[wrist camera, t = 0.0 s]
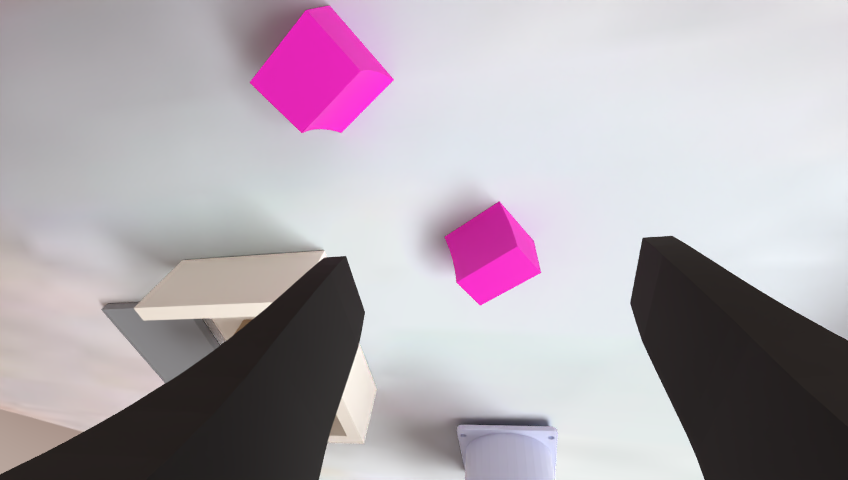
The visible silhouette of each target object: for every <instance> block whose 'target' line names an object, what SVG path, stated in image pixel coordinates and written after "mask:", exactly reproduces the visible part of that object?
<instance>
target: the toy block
mask: <svg viewBox="0 0 848 480" xmlns="http://www.w3.org/2000/svg"><path fill="white" fill-rule="evenodd" d="M393 80H394V79H393V78H392V77H391V76H390V75H389V74H388V72H387V71H386V70H385V69H384V68H383V67H382V65H381V64H380V63H379V62H378V61H377V60H376V59H375V57H374V56H373V55H372V54H371V53H370V52H369V50H368V49H367V48H366V47H365V46H364V45H363V44H362V42H361V41H360V40H359V39H358V38H357V37H356V35H355V34H354V33H353V32H352V31H351V30H350V29H349V27H348V26H347V25H346V24H345V23H344V22H343V20H342V19H341V18H340V17H339V16H338V15H337V14H336V12H335V11H334V10H333V9H332V8H331V7H330V6H324V7H319V8H314V9H308V10H306V11H305V12H304V13H303V15H302V16H301V17H300V18H299V20H298V21H297V22H296V24H295V25H294V26H293V27H292V29H291V30H290V31H289V33H288V34H287V35H286V36H285V38H284V39H283V40H282V42H281V43H280V44H279V45H278V47H277V48H276V49H275V51H274V52H273V53H272V54H271V56H270V57H269V58H268V60H267V61H266V62H265V63H264V65H263V66H262V67H261V69H260V70H259V71H258V72H257V74H256V75H255V76H254V78H253V79H252V80H251V81H250V84H252V85H253V86H254V87H255V88H256V89H257V90H258V91H259V92H260V93H261V94H262V95H263V96H264V97H265V98H266V99H267V100H268V101H269V102H270V103H271V104H272V105H273V106H274V107H275V108H276V109H277V110H278V111H279V112H280V113H282V114H283V115H284V116H285V117H286V118H287V119H288V120H289V121H290V122H291V123H292V124H293V125H294V126H295V127H296V128H297V129H298V130H299V131H300V132H301V133H304V132H306V131H309V130H314V129H327V130H333V131H337V132H340V133H342V132H343V131H344V130H345V129H346V128H347V127H348V126H349V125H350V124H351V123H352V122H353V121H354V120H355V119H356V118H357V117H358V116H359V115H360V113H361V112H362V111H363V110H364V109H365V108H366V107H367V106H368V105H369V104H370V103H371V102H372V101H373V100H374V99H375V98H376V97H377V96H378V95H379V94H380V93H381V92H382V91H383V90H384V89H385V88H386V87H387V86H388V85H389V84H390V83H391V82H392V81H393ZM445 239H446V242H447V244H448V247H449V249H450V253H451V256H452V259H453V263H454V268H455V273H456V283H457V284H459V285H460V286H461V287H462V288H463V289H464V290H465V291H466V292H467V293H468V294H469V295H470V296H471V297H472V298H473V299H474V300H475V301H476V302H477V303H478V304H479V305H482V304H484V303H486V302H488V301H490V300H491V299H493V298H495V297H497V296H499V295H501V294H502V293H504V292H506V291H508V290H510V289H512V288H514V287H515V286H517V285H519V284H521V283H523V282H525V281H527V280H528V279H530V278H532V277H534V276H536V275H538V274H540V273H541V271H540V266H539V262H538V257H537V253H536V249H535V244H534V241H533V240H532V238H531V237H530V236H529V235H528V234H527V233H526V232H525V230H524V229H523V228H522V227H521V226H520V225H519V223H518V222H517V221H516V220H515V219H514V218H513V217H512V215H511V214H510V213H509V212H508V211H507V210H506V208H505V207H504V206H503V205H502V204H501V203H500V202H498V203H496V204H495V205H493V206H491V207H490V208H488V209H487V210H485V211H484V212H482V213H481V214H479V215H478V216H476V217H474V218H473V219H471V220H470V221H468V222H467V223H465V224H464V225H462V226H461V227H459V228H458V229H456V230H454V231H453V232H451V233H450V234H448V235H447V236H445Z"/></svg>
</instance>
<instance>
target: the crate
mask: <svg viewBox="0 0 848 480" xmlns="http://www.w3.org/2000/svg"><path fill="white" fill-rule="evenodd" d="M325 257H327V256H326V253H325V250H324V251H310V252H295V253H280V254H266V255H251V256H236V257H221V258H207V259H192V260H182V261H181V262H180V263H179V264H178V265H177V266H176V267H175V268H174V269H173V270H172V271H171V272H170V273H169V274H168V275H167V276H166V277H165V278H164V279H163V280H162V281H161V282H160V283H159V284H158V285H156V286H155V287H154V288H153V289H152V290H151V291H150V292H149V293H148V294H147V295H146V296H145V297H144V298H143V299H142V300H141V301H140V302H139V303H138V304H137V305H136V306H135V307H134V309H135V311H136V312H137V313H138V314H139V316H140V317H141V318H142V319H143V321H146V320H174V319H203V318H211V319H212V320H213V322H214V323H215V325H216V326H217V328H218V329H219V331H220V332H221V334H222V336H223V337H224V339H225V340H226V341H227V340H228V339H229V338H231V337H232V336H233V335H234V333H235V332H236V330H237V329H238V327H239V326H240V324H241V323H242V321H243V320H244V319H254V318H255V317H256V316H257V315H259V314H260V313H261V312H262V311H263V310H265V309H266V308H267V307H268V306H269V305H270V304H271V303H273V302H274V301H275V300H276V299H277V298H278V297H279V296H281V295H282V294H283V293H284V292H285V291H286V290H287V289H288V288H290V287H291V286H292V285H293V284H294V283H295V282H296V281H297V280H299V279H300V278H301V277H302V276H303V275H304V274H305V273H306V272H308V271H309V270H310V269H311V268H312V267H313V266H314V265H316V264H317V263H318V262H319V261H321V260H322V259H323V258H325ZM376 392H377V388H376V385H375V383H374V380H373V377H372V375H371V372H370V370H369V367H368V364H367V362H366V359H365V356H364V354H363V351H362V348H361V346H360V343H359V346H358V349H357V353H356V356H355V359H354V362H353V365H352V368H351V371H350V374H349V377H348V380H347V383H346V386H345V389H344V392H343V395H342V398H341V401H340V404H339V407H338V410H337V413H336V416H335V419H334V422H333V425H332V428H331V432H330V435H329V439H328V442H327V443H349V444H364V442H365V438H366V433H367V429H368V425H369V421H370V417H371V413H372V408H373V404H374V400H375V396H376Z"/></svg>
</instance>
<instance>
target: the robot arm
mask: <svg viewBox="0 0 848 480" xmlns="http://www.w3.org/2000/svg"><path fill="white" fill-rule="evenodd" d="M630 304H631V307H632V310H633V314H634V317H635V320H636V324H637V327H638V330H639V333H640V336H641V339H642V342H643V344H644V346H645V348H646V350H647V353H648V355H649V357H650V359H651V361H652V363H653V365H654V367H655V370H656V372H657V374H658V376H659V378H660V380H661V382H662V384H663V386H664V388H665V390H666V392H667V395H668V397H669V399H670V401H671V403H672V405H673V407H674V409H675V411H676V413H677V415H678V417H679V419H680V422H681V424H682V426H683V428H684V430H685V432H686V434H687V436H688V439H689V441H690V443H691V446H692V448H693V450H694V453H695V455H696V457H697V460H698V463H699V465H700V468H701V471H702V474H703V476H704V479H705V480H848V340H846V339H844V338H842V337H840V336H838V335H836V334H835V333H833V332H831V331H829V330H827V329H825V328H824V327H822V326H820V325H818V324H817V323H815V322H813V321H811V320H809V319H808V318H806V317H804V316H802V315H800V314H799V313H797V312H795V311H793V310H791V309H790V308H788V307H786V306H785V305H783V304H781V303H780V302H778V301H776V300H774V299H773V298H771V297H769V296H768V295H766V294H764V293H763V292H761V291H759V290H758V289H756V288H755V287H753V286H751V285H750V284H748V283H747V282H745V281H743V280H742V279H740V278H739V277H737V276H735V275H734V274H732V273H731V272H729V271H727V270H726V269H724V268H723V267H721V266H720V265H718V264H717V263H715V262H713V261H712V260H710V259H709V258H707V257H706V256H704V255H702V254H701V253H699V252H698V251H696V250H695V249H693V248H691V247H690V246H688V245H687V244H685V243H683V242H682V241H680V240H678V239H677V238H675V237H673V236H663V237H647V238H643V239H642V244H641V249H640V255H639V260H638V265H637V270H636V276H635V281H634V286H633V291H632V297H631V302H630ZM364 314H365V311H364V308H363V305H362V302H361V299H360V296H359V293H358V290H357V287H356V285H355V282H354V279H353V276H352V273H351V270H350V267H349V264H348V261H347V258H346V256H342V257H325V258H323V259H322V260H321V261H319V262H318V263H317V264H316V265H314V266H313V267H312V268H311V269H310V270H309V271H308V272H306V273H305V274H304V275H303V276H302V277H301V278H300V279H299V280H297V281H296V282H295V283H294V284H293V285H292V286H291V287H290V288H288V289H287V290H286V291H285V292H284V293H283V294H282V295H281V296H279V297H278V298H277V299H276V300H275V301H274V302H273V303H271V304H270V305H269V306H268V307H267V308H266V309H265V310H263V311H262V312H261V313H260V314H259V315H257V316H256V317H255V318H254V319H253V320H251V321H250V322H249V323H248V324H246V325H245V326H244V327H243V328H242V329H240V330H239V331H238V332H237V333H235V334H234V335H233V336H232V337H231V338H229V339H228V340H227V341H225V342H224V343H223V344H222V345H220V346H219V347H218V348H216V349H215V350H214V351H212V352H211V353H209V354H208V355H207V356H205V357H204V358H202V359H201V360H200V361H198V362H197V363H195V364H194V365H192V366H191V367H190V368H188V369H187V370H185V371H184V372H182V373H181V374H179V375H178V376H176V377H175V378H173V379H172V380H170V381H169V382H167V383H165V384H164V385H162V386H161V387H159V388H157V389H156V390H154V391H153V392H151V393H149V394H148V395H146V396H145V397H143V398H141V399H140V400H138V401H137V402H135V403H133V404H132V405H130V406H129V407H127V408H125V409H124V410H122V411H120V412H118V413H117V414H115V415H113V416H111V417H110V418H108V419H106V420H104V421H103V422H101V423H99V424H97V425H96V426H94V427H92V428H90V429H88V430H86V431H85V432H83V433H81V434H79V435H77V436H75V437H73V438H72V439H70V440H68V441H66V442H65V443H62V444H60V445H58V446H57V447H55V448H53V449H51V450H49V451H47V452H45V453H43V454H41V455H39V456H37V457H35V458H33V459H31V460H29V461H27V462H25V463H23V464H21V465H19V466H17V467H14V468H12V469H11V470H9V471H6V472H4V473H3V474H1V475H0V480H319V476H320V472H321V467H322V463H323V459H324V454H325V450H326V446H327V442H328V439H329V435H330V432H331V428H332V425H333V422H334V419H335V416H336V413H337V410H338V407H339V404H340V401H341V398H342V395H343V392H344V389H345V386H346V383H347V380H348V377H349V374H350V371H351V368H352V365H353V362H354V359H355V356H356V353H357V349H358V346H359V341H360V336H361V332H362V326H363V320H364ZM457 435H458V440H459V445H460V450H461V454H462V459H463V464H464V469H465V480H555V473H556V456H557V439H558V432H557V429H556V428H555V427H551V426H502V425H459V426H458V427H457Z"/></svg>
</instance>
